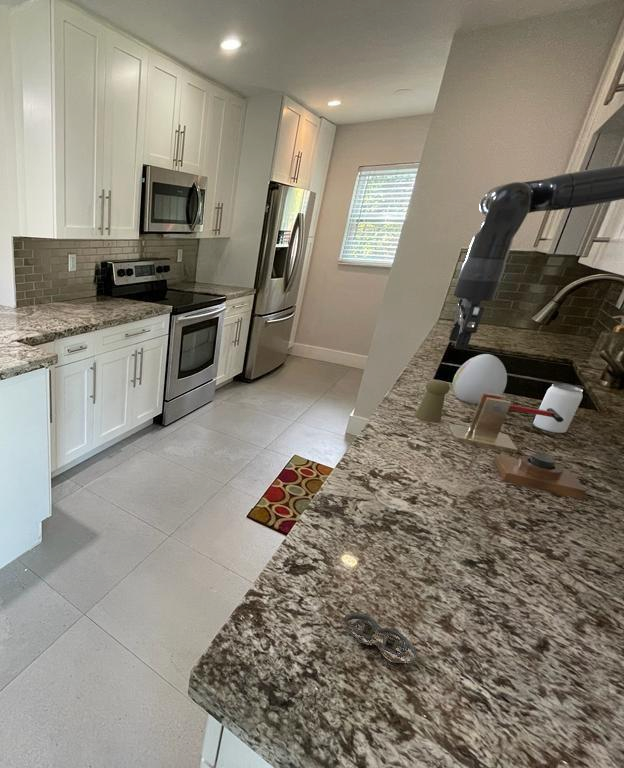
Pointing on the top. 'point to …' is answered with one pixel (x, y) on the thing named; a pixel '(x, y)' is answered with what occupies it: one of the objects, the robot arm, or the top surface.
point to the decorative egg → (479, 378)
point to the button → (542, 461)
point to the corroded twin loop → (380, 630)
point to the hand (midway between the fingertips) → (456, 344)
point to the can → (559, 407)
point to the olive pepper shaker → (433, 401)
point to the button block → (538, 476)
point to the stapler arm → (536, 411)
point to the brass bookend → (486, 425)
